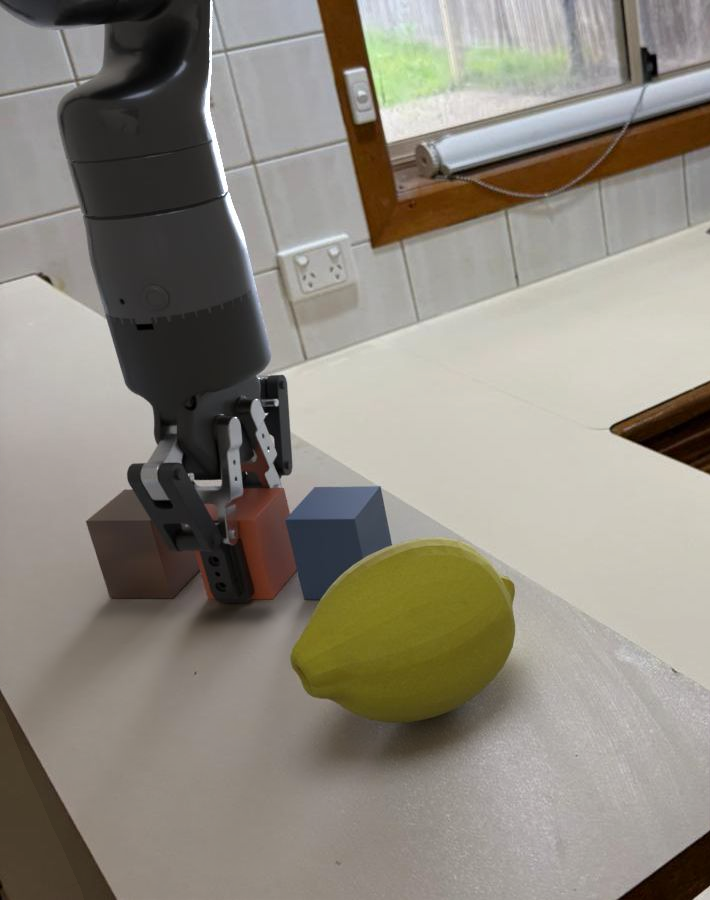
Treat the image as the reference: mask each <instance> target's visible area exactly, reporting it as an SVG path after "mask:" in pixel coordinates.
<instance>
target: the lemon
mask: <svg viewBox="0 0 710 900" xmlns="http://www.w3.org/2000/svg"><path fill="white" fill-rule="evenodd" d="M515 595H516V588H515V583H514V582H513V581H512V580H511V579H510V577H509V576H506V575H503V574H500V573H499V571H498V569H497V568H496V567H495V566H494V565H493V564H492V563H491V562H490V560H489V559H488V558H487V557H485V556H484V555H483V554H481V553H480V552H479V551H478V550H477V549H475V548H474V547H473V546H471V545H470V544H469V543H466V542H462V541H460V540H457V539H455V538H448V537H437V536H430V537H418V538H417V537H416V538H413V539H408V540H404V541H401V542H398V543H394V544H392V545H391V546H388V547H386V548H383V549H381V550H379V551H377V552H375V553H373V554H371V555H369V556H367V557H365V558H363V559H362V560H360V561H359V562H357V563H356V564H354V565H353V566H352V567H350V568H349V569H348V570H347V571H345V572H344V573H343V574H342V575H341V576H340V577H339V578H338V579H337V580H336V581H335V582H334V583H333V584H332V585H331V586H330V587H329V588H328V590H327V591H326V593H325V594H324V595H323V597H322V598H321V599H320V600H319V601H318V603H317V604H316V606H315V607H314V610H313V611H312V613H311V616H310V618H309V620H308V622H307V625H306V626H305V628H304V630H303V631H302V633H301V634H300V636H299V638H298V639H297V641H296V642H295V644H294V645H293V647H292V649H291V652H290V655H289V656H290V658H289V659H290V664H291V667H292V670H293V671H294V672H295V673H296V674H297V675H298V678H299V679H300V682H301V685H302V687H303V689H304V692H306V694H307V695H309V696H311V697H312V698H315V699H320V700H329V701H332V702H334V703H336V704H337V705H338V706H340V707H342V708H343V709H345V710H346V711H348V712H350V713H351V714H354V715H356V716H359V717H362V718H365V719H368V720H371V721H376V722H383V723H397V724H398V723H399V724H400V723H403V724H404V723H410V722H411V723H412V722H419V721H423V720H424V721H425V720H427V719H432V718H436V717H439V716H441V715H444V714H446V713H449V712H451V711H454V710H456V709H457V708H459V707H461V706H462V705H464V704H466V703H468V702H470V700H472V699H473V698H475V697H476V696H477V695H478V694H479V693H481V692H482V691H483V690H484V689H485V688H486V687H487V686H488V685H490V684H491V683H492V682H493V681H494V680H495V679H496V677H497V676H498V674H499V673H500V672H501V670H502V669H503V668H504V667H505V664H506V663H507V661H508V658H509V657H510V654H511V652H512V650H513V648H514V642H515V635H516V622H515V621H516V620H515V614H514V609H513V608H514V607H513V604H514V601H515V600H514V599H515Z"/></svg>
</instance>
